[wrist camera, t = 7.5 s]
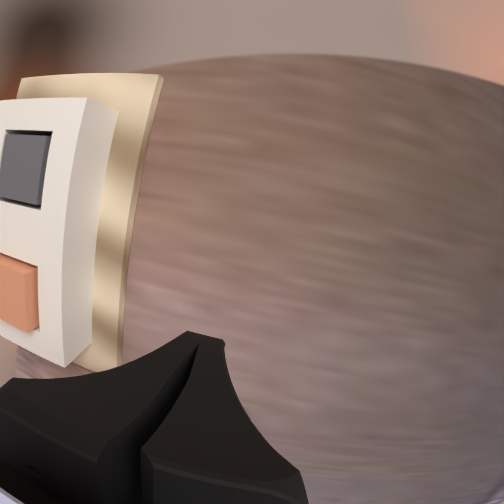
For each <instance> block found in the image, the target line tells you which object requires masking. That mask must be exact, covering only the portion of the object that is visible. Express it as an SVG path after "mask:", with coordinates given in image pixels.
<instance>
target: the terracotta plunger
mask: <svg viewBox="0 0 504 504" xmlns="http://www.w3.org/2000/svg"><path fill="white" fill-rule="evenodd" d="M0 319H1V320H3V321H5V322H7V323H9V324H11V325H13V326H15V327H17V328H19V329H21V330H23V331H25V332H27V333H29V332H30V331H32V330H33V329H35V328H36V327H38V326H39V308H38V266H35V265H32V264H30V263H27V262H24V261H21V260H19V259H16V258H13V257H11V256H8V255H5V254H3V253H1V254H0Z"/></svg>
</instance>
